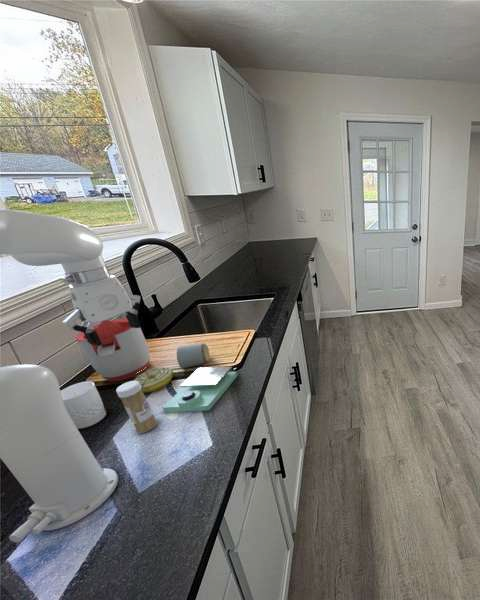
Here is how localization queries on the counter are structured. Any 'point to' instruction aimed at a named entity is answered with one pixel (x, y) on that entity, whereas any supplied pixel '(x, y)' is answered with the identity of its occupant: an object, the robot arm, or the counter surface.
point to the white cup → (83, 404)
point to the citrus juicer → (117, 350)
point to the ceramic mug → (192, 355)
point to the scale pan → (206, 377)
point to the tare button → (188, 395)
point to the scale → (200, 396)
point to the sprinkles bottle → (137, 406)
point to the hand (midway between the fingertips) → (117, 335)
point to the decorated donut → (154, 379)
